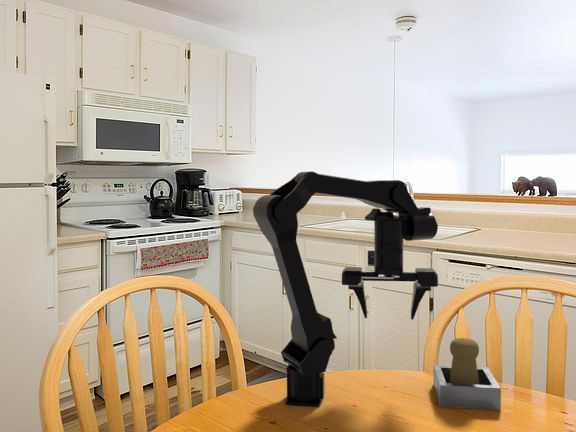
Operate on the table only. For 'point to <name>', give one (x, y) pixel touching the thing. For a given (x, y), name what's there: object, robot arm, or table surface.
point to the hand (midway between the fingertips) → (388, 318)
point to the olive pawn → (464, 361)
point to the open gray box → (467, 390)
